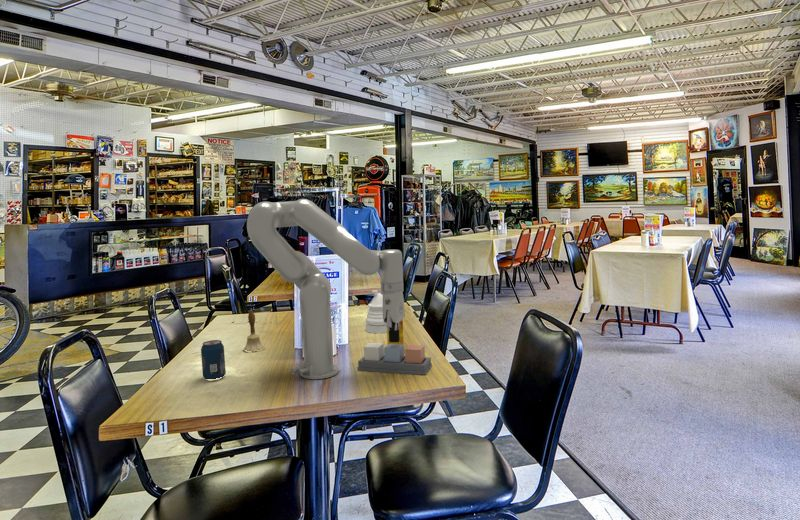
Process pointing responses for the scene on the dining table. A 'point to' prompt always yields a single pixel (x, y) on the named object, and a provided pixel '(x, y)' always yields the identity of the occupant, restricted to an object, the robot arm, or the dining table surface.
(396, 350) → the blue key
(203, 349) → the soda can
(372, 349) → the ivory key
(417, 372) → the grey flat block
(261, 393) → the dining table surface
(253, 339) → the hand bell
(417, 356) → the terracotta key
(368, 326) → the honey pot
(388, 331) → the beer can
